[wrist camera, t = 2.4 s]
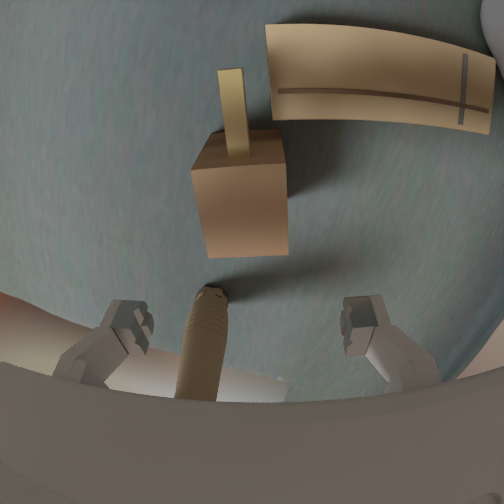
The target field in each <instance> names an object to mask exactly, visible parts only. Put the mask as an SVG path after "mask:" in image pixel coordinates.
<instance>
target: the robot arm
mask: <svg viewBox="0 0 504 504" xmlns="http://www.w3.org/2000/svg"><path fill="white" fill-rule="evenodd" d="M147 308H148V306H147V304H146V302H144V301H131V300H113V301H112V302H111V303H110V305H109V307H108V310H107V312H106V314H105V316H104V318H103V320H102V322H101V324H100V327H96V328H95V329H93V330H92V331H91V332H90V333H89V334H87V335H86V336H85V337H84V338H82V339H81V340H80V341H78V342H77V343H76V344H74V345H73V346H72V347H71V348H70V349H68V350H67V351H66V352H65V353H63V354H62V355H61V357H60V359H59V361H58V364H57V366H56V368H55V370H54V372H53V375H52V376H49V375H45V374H41V373H38V372H35V371H31V370H28V369H25V368H22V367H18V366H15V365H12V364H10V363H6V362H3V361H2V362H0V504H504V366H503V367H499V368H496V369H493V370H490V371H486V372H483V373H480V374H476V375H473V376H469V377H465V378H461V379H457V380H453V381H449V382H445V383H441V380H440V377H439V373H438V370H437V367H436V364H435V361H434V358H433V357H432V356H431V355H429V354H428V353H427V352H426V351H425V350H424V349H423V348H421V347H420V346H419V345H418V344H417V343H416V342H414V341H413V340H412V339H411V338H410V337H408V336H407V335H406V334H405V333H404V332H403V331H401V330H400V329H399V328H398V327H397V326H395V325H391V322H390V319H389V316H388V313H387V310H386V307H385V304H384V301H383V298H382V296H381V295H369V296H355V297H345V298H344V300H343V308H344V310H343V311H342V312H341V317H340V326H341V333H342V335H343V336H344V341H343V345H344V350H345V356H356V355H365V356H366V357H367V358H368V359H369V361H370V362H371V363H372V364H373V365H374V366H375V368H376V369H377V370H378V371H379V372H380V373H381V375H382V376H383V377H384V378H385V379H386V380H387V382H388V383H389V384H388V386H387V387H386V389H385V391H384V392H383V394H380V395H372V396H364V397H356V398H346V399H335V400H323V401H306V402H279V403H244V402H216V401H200V400H187V399H176V398H167V397H158V396H150V395H143V394H136V393H129V392H123V391H117V390H111V389H109V387H108V386H107V385H106V384H105V383H104V381H105V380H106V379H107V378H108V377H109V376H110V375H111V373H113V372H114V370H115V369H116V368H117V367H118V366H119V365H120V364H121V363H122V362H123V361H124V360H125V359H126V358H127V356H128V354H131V355H146V352H147V349H148V346H149V341H148V338H149V337H150V336H151V335H152V333H153V330H154V321H153V317H152V315H151V314H150V313H149V312H148V311H147Z"/></svg>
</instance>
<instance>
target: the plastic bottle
mask: <svg viewBox="0 0 504 504" xmlns="http://www.w3.org/2000/svg"><path fill="white" fill-rule="evenodd" d="M480 19H481V26H482V31H483V34H484V37H485V40H486V42H487V45H488V47H489V49H490V51H491V53H492V55H493V57H494V58H495V59H496V63H497V65H498V68H499V70H500V72H501V75H502V77H503V79H504V0H482V4H481V10H480Z"/></svg>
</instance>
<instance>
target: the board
mask: <svg viewBox="0 0 504 504" xmlns="http://www.w3.org/2000/svg"><path fill="white" fill-rule="evenodd" d="M265 33H266V44H267V56H268V68H269V81H270V94H271V108H272V117H273V120H296V119H346V120H372V121H388V122H400V123H411V124H421V125H430V126H438V127H445V128H452V129H458V130H465V131H470V132H476V133H481V134H487V135H489V129H490V122H491V115H492V107H493V97H494V85H495V66H496V59H495V58H492V57H489V56H487V55H484V54H481V53H478V52H475V51H472V50H469V49H466V48H462V47H459V46H456V45H452V44H448V43H445V42H441V41H437V40H433V39H429V38H424V37H420V36H415V35H410V34H405V33H399V32H393V31H387V30H380V29H373V28H364V27H355V26H343V25H326V24H270V25H265Z"/></svg>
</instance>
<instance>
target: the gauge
mask: <svg viewBox="0 0 504 504" xmlns="http://www.w3.org/2000/svg"><path fill="white" fill-rule="evenodd" d="M218 78H219V87H220V95H221V103H222V111H223V119H224V127H225V132H222V133H212V134H211V135H210V136H209V138H208V140H207V141H206V143H205V145H204V147H203V148H202V150H201V152H200V154H199V156H198V157H197V159H196V161H195V163H194V165H193V166H192V168H191V170H190V171H191V176H192V181H193V187H194V192H195V197H196V202H197V207H198V212H199V216H200V221H201V226H202V231H203V235H204V240H205V245H206V249H207V254H208V258H229V257H253V256H276V255H288V209H287V178H286V161H285V155H284V149H283V143H282V137H281V132H280V128H278V129H259V130H249V127H248V117H247V107H246V96H245V86H244V76H243V67H241V68H231V69H222V70H219V71H218Z"/></svg>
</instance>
